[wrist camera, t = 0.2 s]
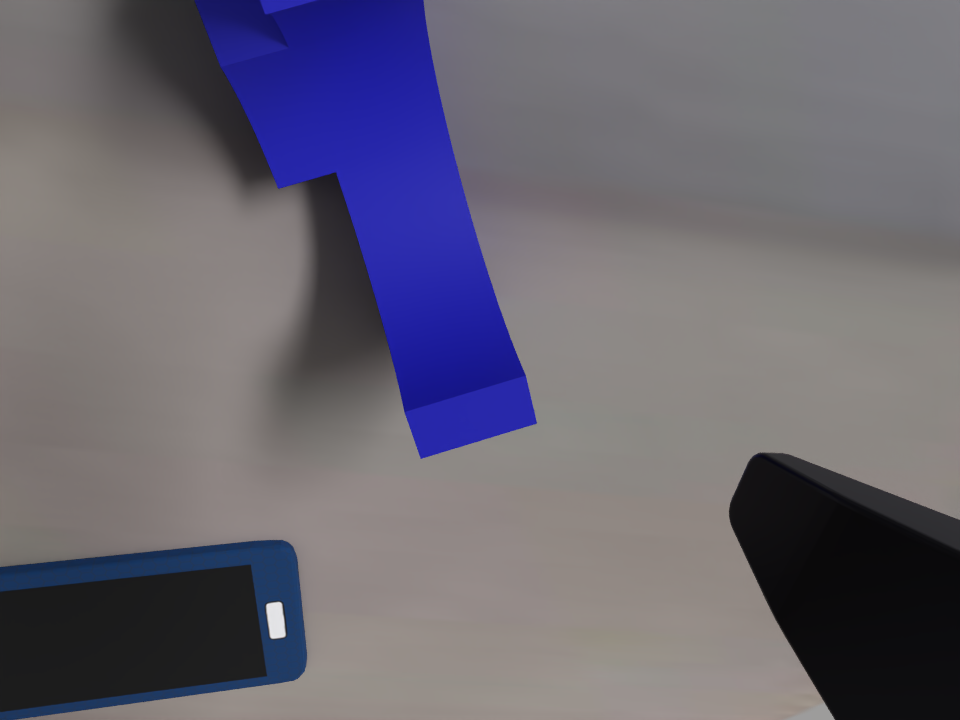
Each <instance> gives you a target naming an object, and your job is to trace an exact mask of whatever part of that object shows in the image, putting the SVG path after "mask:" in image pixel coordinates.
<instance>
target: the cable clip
mask: <svg viewBox="0 0 960 720" xmlns="http://www.w3.org/2000/svg"><path fill="white" fill-rule="evenodd" d="M194 1H195V3H196V6H197V8H198V11H199V13H200V16H201V18H202V21H203V23H204V26H205V29H206V31H207V34H208V36H209V39H210V41H211V44H212V46H213V49H214V51H215V54H216V56H217V59H218V62H219V64H220V67H221V68H222V70H223V72H224V73H225V75H226V77H227V79H228V80H229V82H230V84H231V86H232V87H233V89H234V91H235V93H236V95H237V97H238V99H239V101H240V103H241V105H242V107H243V109H244V111H245V113H246V115H247V117H248V119H249V121H250V123H251V125H252V127H253V130H254V132H255V134H256V136H257V139H258V141H259V143H260V145H261V148H262V150H263V152H264V155H265V157H266V159H267V162H268V164H269V167H270V169H271V172H272V174H273V177H274V179H275V182H276V184H277V187H278V189H279V188H283V187H286V186H290V185H293V184H297V183H300V182H304V181H307V180H311V179H314V178H317V177H321V176H324V175H328V174H331V173H335V172H336V174H337V177H338V180H339V183H340V186H341V189H342V192H343V195H344V198H345V201H346V204H347V207H348V210H349V213H350V216H351V219H352V223H353V226H354V229H355V232H356V235H357V238H358V242H359V245H360V248H361V251H362V254H363V258H364V261H365V264H366V268H367V271H368V274H369V278H370V281H371V284H372V288H373V291H374V295H375V298H376V302H377V305H378V309H379V312H380V316H381V319H382V323H383V326H384V330H385V334H386V337H387V341H388V345H389V349H390V353H391V356H392V360H393V364H394V368H395V372H396V376H397V380H398V385H399V389H400V393H401V398H402V402H403V407H404V412H405V415H406V418H407V421H408V423H409V426H410V429H411V432H412V435H413V438H414V440H415V443H416V446H417V449H418V452H419V455H420V458H421V459H422V458H425V457H428V456H432V455H435V454H438V453H441V452H445V451H448V450H451V449H455V448H458V447H461V446H464V445H468V444H471V443H474V442H478V441H481V440H484V439H487V438H491V437H494V436H497V435H500V434H504V433H507V432H510V431H514V430H517V429H520V428H523V427H527V426H530V425H533V424H537V422H536V418H535V413H534V409H533V405H532V400H531V396H530V392H529V388H528V383H527V379H526V375H525V373H524V370H523V368H522V366H521V363H520V361H519V359H518V356H517V354H516V351H515V349H514V346H513V343H512V341H511V338H510V335H509V333H508V330H507V327H506V325H505V322H504V319H503V316H502V313H501V310H500V308H499V305H498V302H497V299H496V296H495V293H494V290H493V287H492V284H491V281H490V278H489V275H488V271H487V268H486V265H485V262H484V259H483V256H482V252H481V249H480V246H479V243H478V239H477V236H476V232H475V229H474V226H473V222H472V219H471V215H470V212H469V208H468V205H467V201H466V198H465V194H464V190H463V187H462V183H461V179H460V176H459V172H458V168H457V164H456V161H455V157H454V153H453V149H452V145H451V141H450V137H449V133H448V129H447V124H446V120H445V116H444V112H443V107H442V103H441V99H440V94H439V89H438V85H437V80H436V75H435V70H434V65H433V60H432V55H431V50H430V44H429V38H428V32H427V26H426V19H425V11H424V2H423V0H194Z"/></svg>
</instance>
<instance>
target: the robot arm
mask: <svg viewBox="0 0 960 720" xmlns="http://www.w3.org/2000/svg"><path fill="white" fill-rule="evenodd" d="M729 518H730V523H731V526H732V528H733V531H734V533H735V535H736V537H737V539H738V541H739V543H740V546H741V548H742V550H743V552H744V554H745V556H746V558H747V561H748V563H749V565H750V567H751V569H752V571H753V573H754V576H755V578H756V580H757V582H758V584H759V586H760V588H761V591H762V593H763V595H764V597H765V599H766V601H767V603H768V605H769V607H770V609H771V611H772V613H773V615H774V618H775V619H776V621H777V623H778V625H779V627H780V628H781V630H782V632H783V634H784V635H785V637H786V639H787V640H788V642H789V644H790V645H791V647H792V649H793V650H794V652H795V654H796V656H797V657H798V659H799V661H800V662H801V664H802V666H803V667H804V669H805V671H806V672H807V674H808V676H809V677H810V679H811V681H812V682H813V684H814V686H815V687H816V689H817V691H818V692H819V694H820V696H821V697H822V699H823V701H824V702H825V704H826V706H827V707H828V709H829V711H830V712H831V714H832V716H833V717H834V719H835V720H960V520H958V519H956V518H953V517H950V516H948V515H945V514H943V513H940V512H937V511H935V510H932V509H930V508H927V507H924V506H922V505H919V504H917V503H914V502H911V501H909V500H906V499H904V498H901V497H898V496H896V495H893V494H891V493H888V492H885V491H883V490H880V489H878V488H875V487H872V486H870V485H867V484H865V483H862V482H859V481H857V480H854V479H851V478H849V477H846V476H844V475H841V474H838V473H836V472H833V471H831V470H828V469H825V468H823V467H820V466H818V465H815V464H812V463H810V462H807V461H805V460H802V459H799V458H797V457H794V456H792V455H789V454H784V453H758V454H756V455H754V456H753V457H752V458H751V459H750V461H749V462H748V464H747V467H746V469H745V471H744V473H743V475H742V478H741V480H740V482H739V484H738V486H737V489H736V491H735V493H734V495H733V497H732V500H731V503H730V508H729Z"/></svg>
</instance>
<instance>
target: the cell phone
mask: <svg viewBox="0 0 960 720" xmlns="http://www.w3.org/2000/svg"><path fill="white" fill-rule="evenodd" d="M306 662H307V650H306V640H305V630H304V621H303V611H302V601H301V591H300V582H299V572H298V562H297V556H296V554H295V551H294V548H293V546H291V545H290V544H289V543H288V542H286V541H283V540H265V541H250V542H241V543H231V544H221V545H211V546H202V547H192V548H182V549H173V550H163V551H153V552H143V553H134V554H124V555H114V556H105V557H95V558H85V559H75V560H66V561H56V562H46V563H37V564H27V565H17V566H7V567H0V720H15V719H23V718H30V717H37V716H44V715H52V714H59V713H66V712H73V711H81V710H88V709H95V708H102V707H110V706H117V705H124V704H131V703H139V702H146V701H153V700H160V699H168V698H175V697H182V696H189V695H197V694H204V693H211V692H218V691H226V690H233V689H240V688H247V687H255V686H262V685H269V684H276V683H283V682H288V681H294V680H296V679H298V678H299V677H300V676H301V675H302V674H303V672H304V671H305V667H306Z"/></svg>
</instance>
